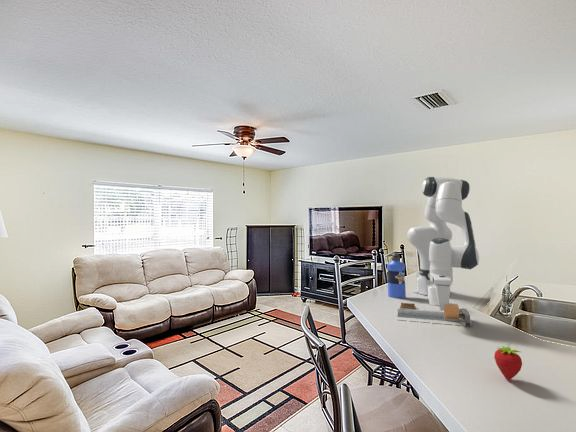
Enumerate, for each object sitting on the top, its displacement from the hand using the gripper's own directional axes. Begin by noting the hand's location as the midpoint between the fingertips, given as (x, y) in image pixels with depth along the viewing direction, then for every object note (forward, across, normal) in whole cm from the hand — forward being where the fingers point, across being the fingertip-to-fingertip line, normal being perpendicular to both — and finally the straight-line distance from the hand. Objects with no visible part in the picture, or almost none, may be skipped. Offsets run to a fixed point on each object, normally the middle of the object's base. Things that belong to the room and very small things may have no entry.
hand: (442, 309), depth 132 cm
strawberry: (+5, +48, +12) cm, 50 cm away
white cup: (+5, -22, -1) cm, 23 cm away
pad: (+5, -11, -14) cm, 18 cm away
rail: (+5, 0, -4) cm, 6 cm away
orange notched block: (+3, 0, +3) cm, 5 cm away
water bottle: (+5, -33, -20) cm, 39 cm away
